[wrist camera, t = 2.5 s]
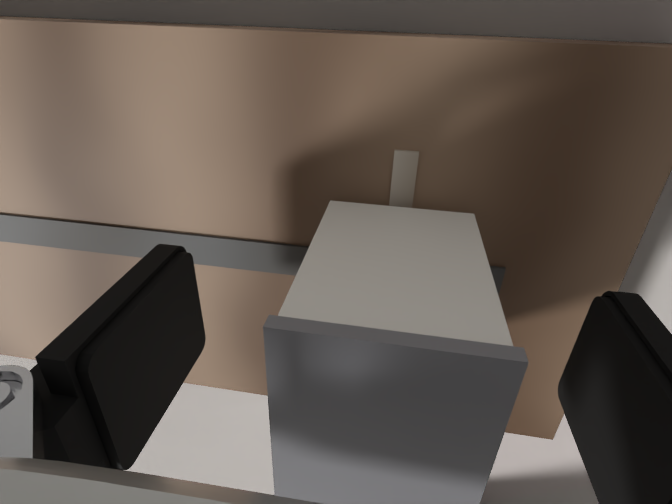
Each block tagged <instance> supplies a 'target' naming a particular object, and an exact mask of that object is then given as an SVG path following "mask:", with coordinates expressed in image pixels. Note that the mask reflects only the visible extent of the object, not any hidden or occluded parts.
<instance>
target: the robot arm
mask: <svg viewBox="0 0 672 504" xmlns="http://www.w3.org/2000/svg"><path fill="white" fill-rule="evenodd" d="M205 340H206V337H205V330H204V323H203V317H202V311H201V305H200V299H199V292H198V286H197V280H196V274H195V268H194V261H193V257H192V255H191V253H188V252H186V249H185V248H184V247H183V246H177V245H168V244H158V245H156V246H155V247H154V248H153V249H152V250H151V251H150V252H149V253H148V254H146V255H145V256H144V257H143V258H142V259H141V260H140V261H139V262H138V263H137V264H136V265H135V266H133V267H132V268H131V269H130V270H129V271H128V272H127V273H126V274H125V275H124V276H123V277H121V278H120V279H119V280H118V281H117V282H116V283H115V284H114V285H113V286H112V287H111V288H109V289H108V290H107V291H106V292H105V293H104V294H103V295H102V296H101V297H100V298H99V299H97V300H96V301H95V302H94V303H93V304H92V305H91V306H90V307H89V308H88V309H87V310H86V311H84V312H83V313H82V314H81V315H80V316H79V317H78V318H77V319H76V320H75V321H74V322H72V323H71V324H70V325H69V326H68V327H67V328H66V329H65V330H64V331H63V332H62V333H60V334H59V335H58V336H57V337H56V338H55V339H54V340H53V341H52V342H51V343H50V344H48V345H47V346H46V347H45V348H44V349H43V350H42V351H41V352H40V353H39V354H38V355H37V356H35V358H36V361H37V363H38V364H37V365H36V366H35V367H33V368H32V369H31V370H30V371H28V370H27V369H26V368H24V367H20V366H16V365H5V366H0V504H322V503H316V502H310V501H304V500H299V499H293V498H287V497H281V496H275V495H269V494H263V493H257V492H251V491H245V490H239V489H233V488H227V487H221V486H215V485H209V484H203V483H197V482H191V481H185V480H179V479H173V478H167V477H161V476H156V475H150V474H144V473H137V472H130V471H124V470H127V469H129V468H130V467H131V466H132V465H133V464H134V462H135V461H136V459H137V457H138V456H139V454H140V452H141V451H142V449H143V447H144V446H145V444H146V443H147V441H148V439H149V438H150V436H151V434H152V433H153V431H154V430H155V428H156V426H157V425H158V423H159V421H160V420H161V418H162V416H163V415H164V413H165V412H166V410H167V408H168V407H169V405H170V403H171V402H172V400H173V398H174V397H175V395H176V394H177V392H178V390H179V389H180V387H181V385H182V384H183V382H184V381H185V379H186V377H187V376H188V374H189V372H190V371H191V369H192V367H193V366H194V364H195V363H196V361H197V359H198V358H199V356H200V354H201V353H202V351H203V349H204V346H205ZM558 397H559V400H560V403H561V406H562V408H563V411H564V413H565V416H566V419H567V421H568V424H569V426H570V429H571V432H572V434H573V437H574V439H575V442H576V444H577V447H578V450H579V452H580V455H581V457H582V460H583V463H584V465H585V468H586V470H587V473H588V476H589V478H590V481H591V483H592V486H593V489H594V491H595V494H596V496H597V499H598V501H599V504H672V334H671V333H670V332H669V331H668V329H667V328H666V327H665V326H664V324H663V323H662V322H661V321H660V320H659V318H658V317H657V316H656V315H655V313H654V312H653V311H652V310H651V308H650V307H649V306H648V305H647V304H646V302H645V301H644V300H643V299H642V297H641V296H639V295H638V294H634V293H625V292H615V291H606V292H605V293H603V294H602V296H597V297H595V298H594V299H593V301H592V303H591V305H590V308H589V310H588V313H587V315H586V318H585V320H584V322H583V325H582V327H581V330H580V332H579V335H578V337H577V339H576V342H575V344H574V347H573V349H572V352H571V354H570V356H569V359H568V361H567V364H566V366H565V369H564V371H563V373H562V376H561V378H560V381H559V384H558Z"/></svg>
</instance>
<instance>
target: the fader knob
mask: <svg viewBox="0 0 672 504" xmlns="http://www.w3.org/2000/svg"><path fill="white" fill-rule="evenodd" d="M263 335H264V349H265V364H266V378H267V392H268V406H269V420H270V435H271V449H272V463H273V477H274V492H275V496H281V497H287V498H293V499H299V500H304V501H310V502H316V503H322V504H480V501H481V498H482V496H483V493H484V490H485V487H486V484H487V481H488V478H489V475H490V473H491V470H492V467H493V464H494V461H495V458H496V455H497V452H498V450H499V447H500V444H501V441H502V438H503V435H504V432H505V429H506V427H507V424H508V421H509V418H510V415H511V412H512V409H513V406H514V404H515V401H516V398H517V395H518V392H519V389H520V386H521V383H522V381H523V378H524V375H525V372H526V369H527V366H528V363H529V361H528V358H527V355H526V352H525V349H524V348H523V347H515V346H513V343H512V340H511V336H510V333H509V330H508V326H507V323H506V320H505V316H504V313H503V309H502V306H501V303H500V299H499V296H498V293H497V289H496V286H495V282H494V279H493V276H492V272H491V269H490V265H489V262H488V259H487V255H486V252H485V249H484V245H483V242H482V238H481V235H480V232H479V228H478V225H477V222H476V218H475V215H474V214H472V213H461V212H450V211H439V210H428V209H418V208H407V207H396V206H385V205H374V204H364V203H353V202H342V201H331V200H330V202H329V204H328V207H327V209H326V211H325V213H324V215H323V218H322V220H321V222H320V224H319V226H318V228H317V231H316V233H315V235H314V237H313V239H312V242H311V244H310V246H309V248H308V250H307V253H306V255H305V257H304V259H303V261H302V263H301V266H300V268H299V270H298V272H297V274H296V277H295V279H294V281H293V283H292V285H291V288H290V290H289V292H288V294H287V296H286V299H285V301H284V303H283V305H282V307H281V309H280V312H279V314H278V316H275V315H269V316H268V318H267V320H266V322H265V324H264V326H263Z"/></svg>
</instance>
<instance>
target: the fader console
mask: <svg viewBox="0 0 672 504" xmlns="http://www.w3.org/2000/svg"><path fill="white" fill-rule="evenodd" d="M671 169H672V44H668V43H643V42H619V41H595V40H570V39H546V38H521V37H497V36H473V35H448V34H424V33H399V32H375V31H351V30H326V29H302V28H278V27H253V26H229V25H205V24H180V23H156V22H131V21H107V20H83V19H58V18H34V17H10V16H0V354H2V355H8V356H15V357H21V358H28V359H34V360H36V358H35V356H37V355H38V354H39V353H40V352H41V351H42V350H43V349H44V348H45V347H46V346H47V345H48V344H50V343H51V342H52V341H53V340H54V339H55V338H56V337H57V336H58V335H59V334H60V333H62V332H63V331H64V330H65V329H66V328H67V327H68V326H69V325H70V324H71V323H72V322H74V321H75V320H76V319H77V318H78V317H79V316H80V315H81V314H82V313H83V312H84V311H86V310H87V309H88V308H89V307H90V306H91V305H92V304H93V303H94V302H95V301H96V300H97V299H99V298H100V297H101V296H102V295H103V294H104V293H105V292H106V291H107V290H108V289H109V288H111V287H112V286H113V285H114V284H115V283H116V282H117V281H118V280H119V279H120V278H121V277H123V276H124V275H125V274H126V273H127V272H128V271H129V270H130V269H131V268H132V267H133V266H135V265H136V264H137V263H138V262H139V261H140V260H141V259H142V258H143V257H144V256H145V255H146V254H148V253H149V252H150V251H151V250H152V249H153V248H154V247H155V246H156V245H158V244H168V245H177V246H183V247H184V248H185V249H186V252H188V253H191V255H192V257H193V261H194V268H195V274H196V280H197V286H198V292H199V299H200V305H201V311H202V317H203V323H204V330H205V337H206V340H205V346H204V349H203V351H202V353H201V354H200V356H199V358H198V359H197V361H196V363H195V364H194V366H193V367H192V369H191V371H190V372H189V374H188V376H187V377H186V379H185V381H184V382H183V383H190V384H196V385H203V386H209V387H216V388H222V389H229V390H235V391H241V392H248V393H254V394H261V395H267V396H268V392H267V378H266V364H265V349H264V335H263V326H264V324H265V322H266V320H267V318H268V316H269V315H275V316H278V314H279V312H280V309H281V307H282V305H283V303H284V301H285V299H286V296H287V294H288V292H289V290H290V288H291V285H292V283H293V281H294V279H295V277H296V274H297V272H298V270H299V268H300V266H301V263H302V261H303V259H304V257H305V255H306V253H307V250H308V248H309V246H310V244H311V242H312V239H313V237H314V235H315V233H316V231H317V228H318V226H319V224H320V222H321V220H322V218H323V215H324V213H325V211H326V209H327V207H328V204H329V202H330V200H331V201H342V202H353V203H364V204H374V205H385V206H396V207H407V208H418V209H428V210H439V211H450V212H461V213H472V214H474V215H475V218H476V222H477V225H478V228H479V232H480V235H481V238H482V242H483V245H484V249H485V252H486V255H487V259H488V262H489V265H490V269H491V272H492V276H493V279H494V282H495V286H496V289H497V293H498V296H499V299H500V303H501V306H502V309H503V313H504V316H505V320H506V323H507V326H508V330H509V333H510V336H511V340H512V343H513V346H515V347H523V348H524V349H525V352H526V355H527V358H528V361H529V363H528V366H527V369H526V372H525V375H524V378H523V381H522V383H521V386H520V389H519V392H518V395H517V398H516V401H515V404H514V406H513V409H512V412H511V415H510V418H509V421H508V424H507V427H506V429H505V432H507V433H513V434H520V435H526V436H533V437H539V438H546V439H552V440H553V438H554V435H555V433H556V431H557V429H558V426H559V424H560V422H561V420H562V417H563V415H564V411H563V408H562V406H561V403H560V400H559V397H558V384H559V381H560V378H561V376H562V373H563V371H564V369H565V366H566V364H567V361H568V359H569V356H570V354H571V352H572V349H573V347H574V344H575V342H576V339H577V337H578V335H579V332H580V330H581V327H582V325H583V322H584V320H585V318H586V315H587V313H588V310H589V308H590V305H591V303H592V301H593V299H594V298H595V297H597V296H602V294H603V293H605V292H606V291H615V292H618V290H619V288H620V285H621V283H622V281H623V279H624V276H625V274H626V272H627V269H628V267H629V265H630V263H631V260H632V258H633V256H634V254H635V251H636V249H637V247H638V244H639V242H640V240H641V238H642V235H643V233H644V231H645V229H646V226H647V224H648V222H649V219H650V217H651V215H652V213H653V210H654V208H655V206H656V204H657V201H658V199H659V197H660V194H661V192H662V190H663V188H664V185H665V183H666V181H667V179H668V176H669V174H670V172H671Z"/></svg>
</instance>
